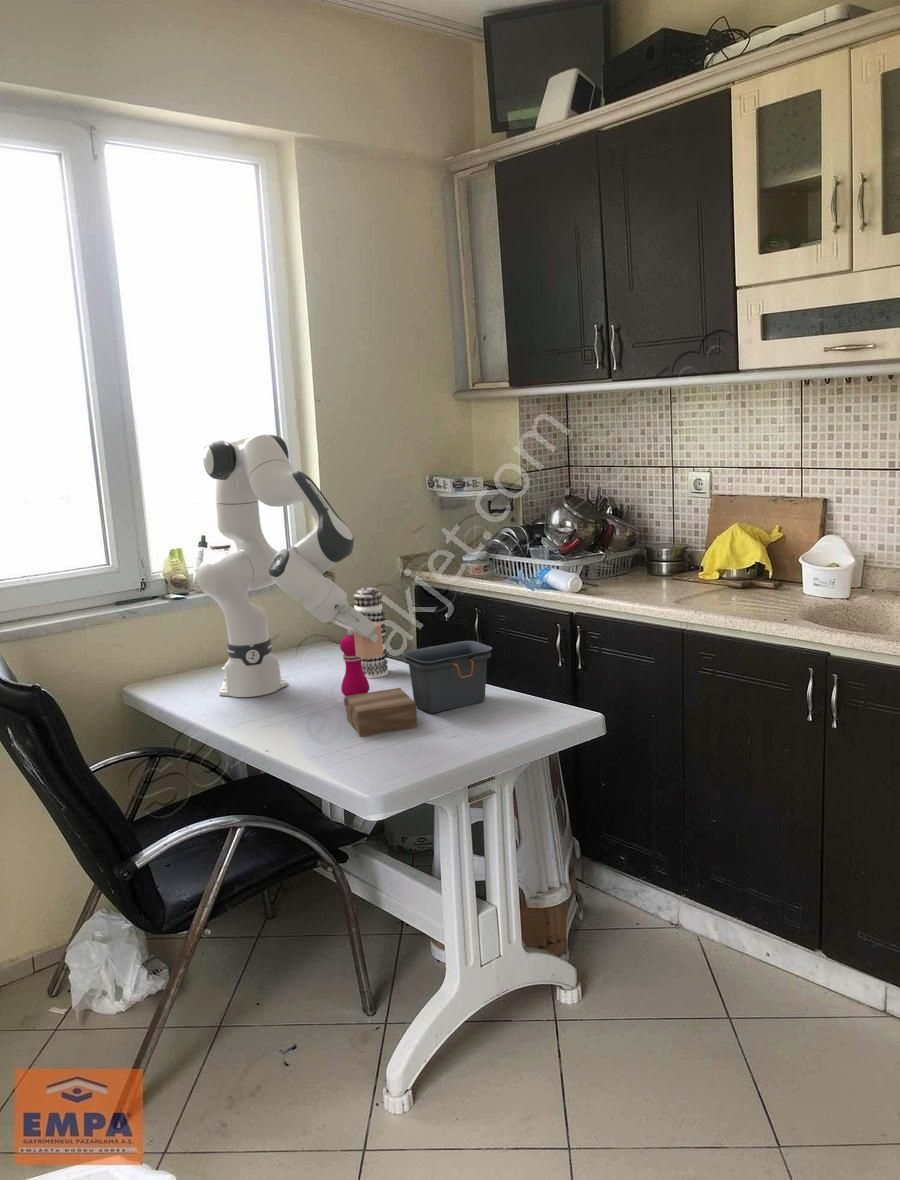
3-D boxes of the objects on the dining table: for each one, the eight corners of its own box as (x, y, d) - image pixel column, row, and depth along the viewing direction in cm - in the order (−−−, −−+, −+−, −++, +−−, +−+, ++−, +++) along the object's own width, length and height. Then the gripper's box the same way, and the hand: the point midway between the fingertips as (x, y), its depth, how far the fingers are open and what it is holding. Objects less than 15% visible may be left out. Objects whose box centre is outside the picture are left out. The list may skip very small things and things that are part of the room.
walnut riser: (347, 719, 235) (345, 696, 234) (401, 710, 239) (399, 687, 238) (360, 736, 222) (358, 712, 221) (417, 727, 226) (415, 703, 225)
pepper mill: (366, 708, 243) (360, 632, 239) (339, 708, 244) (332, 632, 240) (373, 700, 250) (368, 625, 246) (347, 699, 251) (341, 626, 247)
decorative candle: (351, 674, 276) (344, 589, 271) (378, 667, 281) (372, 584, 276) (368, 680, 268) (361, 593, 264) (395, 673, 274) (389, 588, 269)
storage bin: (471, 690, 253) (468, 638, 251) (504, 703, 240) (502, 648, 238) (401, 706, 243) (397, 652, 240) (432, 722, 230) (428, 664, 227)
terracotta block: (355, 655, 228) (353, 624, 227) (374, 651, 230) (372, 621, 229) (364, 659, 224) (361, 628, 222) (383, 655, 226) (381, 625, 224)
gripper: (354, 598, 212) (397, 634, 218) (321, 586, 230) (362, 619, 236) (337, 621, 210) (380, 656, 217) (305, 607, 228) (346, 640, 235)
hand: (370, 637), depth 226 cm, fingers closed on terracotta block, 5 cm apart
